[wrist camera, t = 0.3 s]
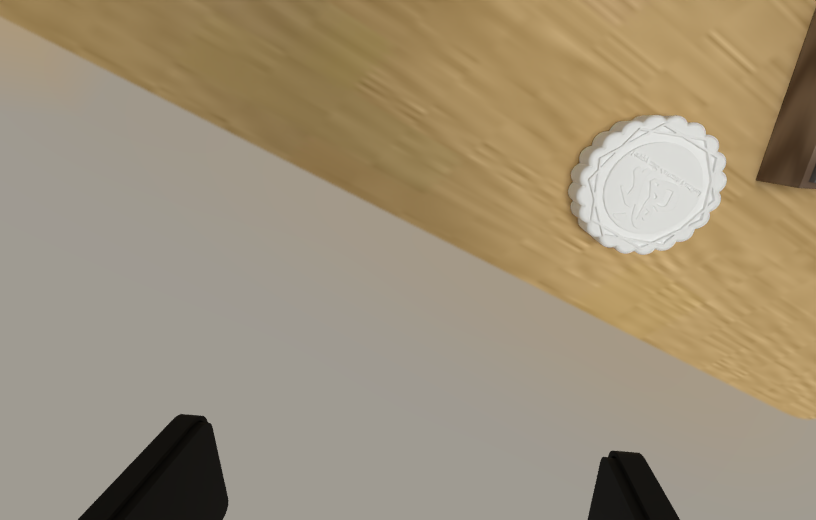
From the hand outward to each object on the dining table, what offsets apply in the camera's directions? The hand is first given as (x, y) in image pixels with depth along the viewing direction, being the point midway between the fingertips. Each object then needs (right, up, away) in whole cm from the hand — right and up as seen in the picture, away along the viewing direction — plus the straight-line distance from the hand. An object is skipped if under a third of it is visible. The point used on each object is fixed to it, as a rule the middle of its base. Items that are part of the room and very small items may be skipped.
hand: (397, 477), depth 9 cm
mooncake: (+21, +12, +26) cm, 36 cm away
